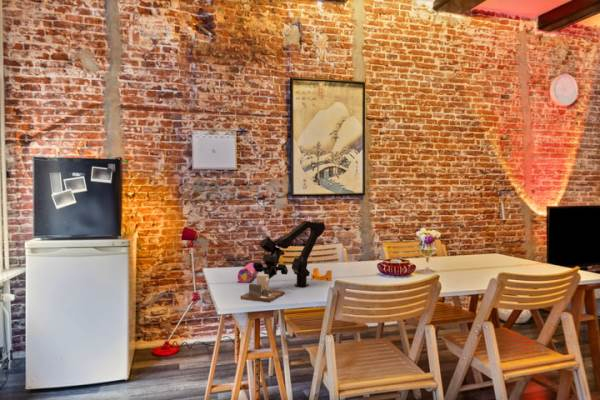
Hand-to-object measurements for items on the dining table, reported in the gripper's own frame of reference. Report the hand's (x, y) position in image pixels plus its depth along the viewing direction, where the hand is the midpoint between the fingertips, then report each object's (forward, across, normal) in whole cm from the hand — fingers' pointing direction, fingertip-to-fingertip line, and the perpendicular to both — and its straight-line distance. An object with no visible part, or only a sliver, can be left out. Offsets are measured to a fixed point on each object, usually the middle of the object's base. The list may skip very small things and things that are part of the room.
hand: (265, 281), depth 227 cm
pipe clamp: (-28, +15, +39) cm, 50 cm away
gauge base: (+8, 0, +2) cm, 8 cm away
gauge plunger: (+5, +2, +2) cm, 6 cm away
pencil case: (-15, -25, +26) cm, 39 cm away
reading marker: (+9, +4, -3) cm, 11 cm away
